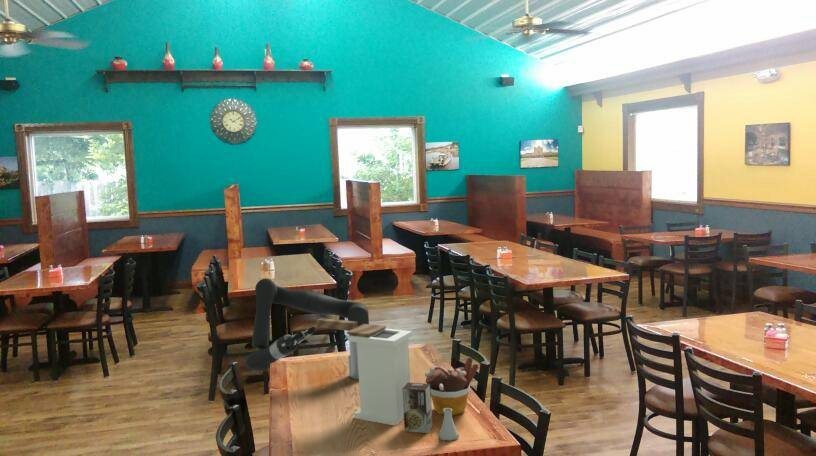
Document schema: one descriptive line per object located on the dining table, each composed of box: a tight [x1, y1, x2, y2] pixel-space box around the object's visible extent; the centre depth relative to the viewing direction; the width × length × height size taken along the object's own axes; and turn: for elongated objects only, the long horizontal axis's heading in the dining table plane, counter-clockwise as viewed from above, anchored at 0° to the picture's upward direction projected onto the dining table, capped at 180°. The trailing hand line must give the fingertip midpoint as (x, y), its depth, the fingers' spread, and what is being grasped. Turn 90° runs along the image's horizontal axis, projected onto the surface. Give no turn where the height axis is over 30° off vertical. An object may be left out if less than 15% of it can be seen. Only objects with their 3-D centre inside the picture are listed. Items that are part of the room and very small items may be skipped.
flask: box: [438, 408, 460, 442], centre depth 229 cm, size 7×7×10 cm
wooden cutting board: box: [316, 317, 387, 337], centre depth 254 cm, size 27×12×3 cm, turn 61°
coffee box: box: [402, 382, 434, 434], centre depth 236 cm, size 9×6×16 cm
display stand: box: [347, 328, 413, 426], centre depth 249 cm, size 20×14×32 cm
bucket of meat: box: [424, 356, 479, 417], centre depth 251 cm, size 20×16×20 cm
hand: (309, 330), depth 264 cm, fingers open, 8 cm apart
